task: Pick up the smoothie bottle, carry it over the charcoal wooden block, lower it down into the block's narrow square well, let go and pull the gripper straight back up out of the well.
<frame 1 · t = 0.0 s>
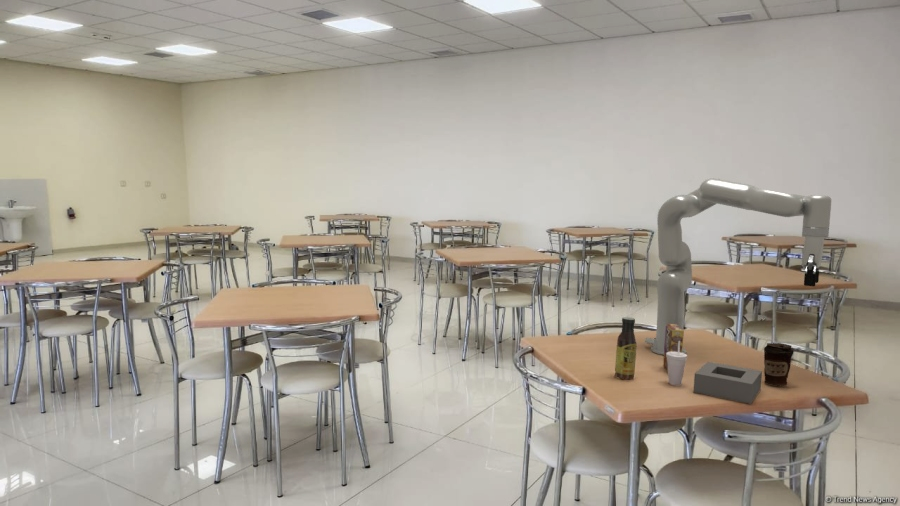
hand: (811, 284, 199), 31 cm above the table, fingers open, 9 cm apart
sauce bottle: (624, 377, 197), on the table
candy box: (671, 370, 205), on the table
smoothie: (674, 384, 191), on the table
coffee cup: (775, 384, 192), on the table
well block: (727, 390, 185), on the table
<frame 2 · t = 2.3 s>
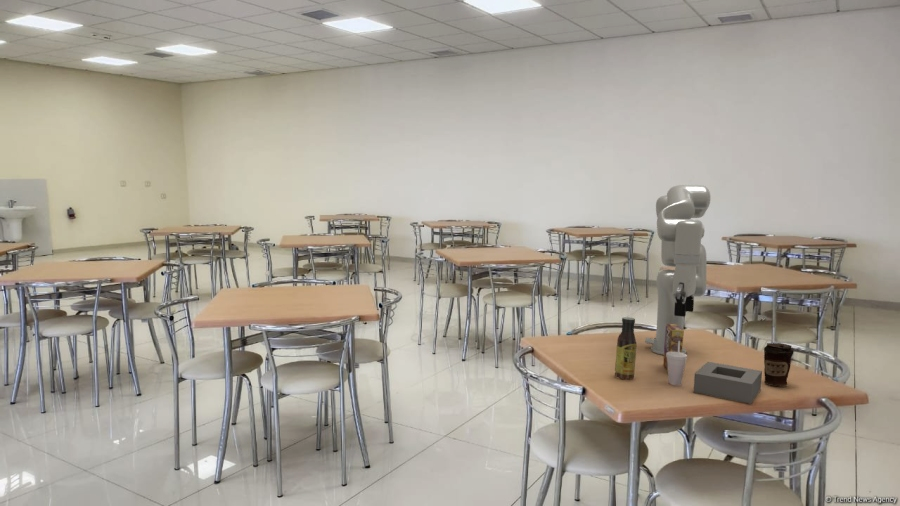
hand: (683, 313, 189), 23 cm above the table, fingers open, 9 cm apart
nothing on the table moved.
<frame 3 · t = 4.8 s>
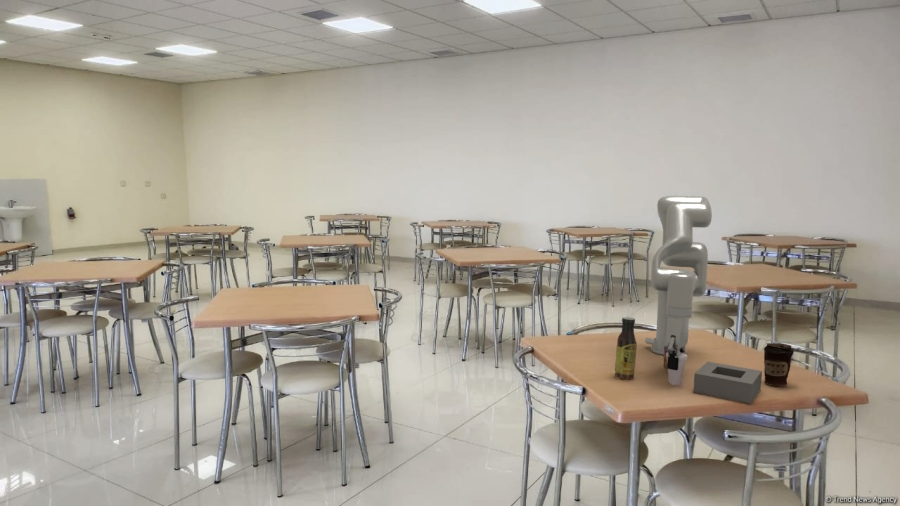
hand: (675, 366, 191), 6 cm above the table, fingers closed on smoothie, 6 cm apart
smoothie: (674, 384, 191), on the table, touching gripper
everything else where it was.
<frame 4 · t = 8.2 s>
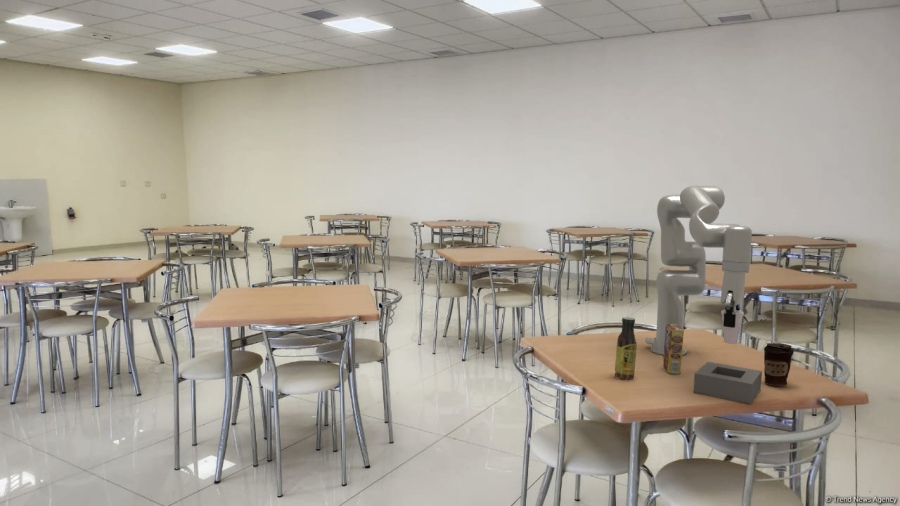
hand: (731, 324, 183), 21 cm above the table, fingers closed on smoothie, 6 cm apart
smoothie: (730, 342, 183), point 15 cm above the table, touching gripper
everything else where it was.
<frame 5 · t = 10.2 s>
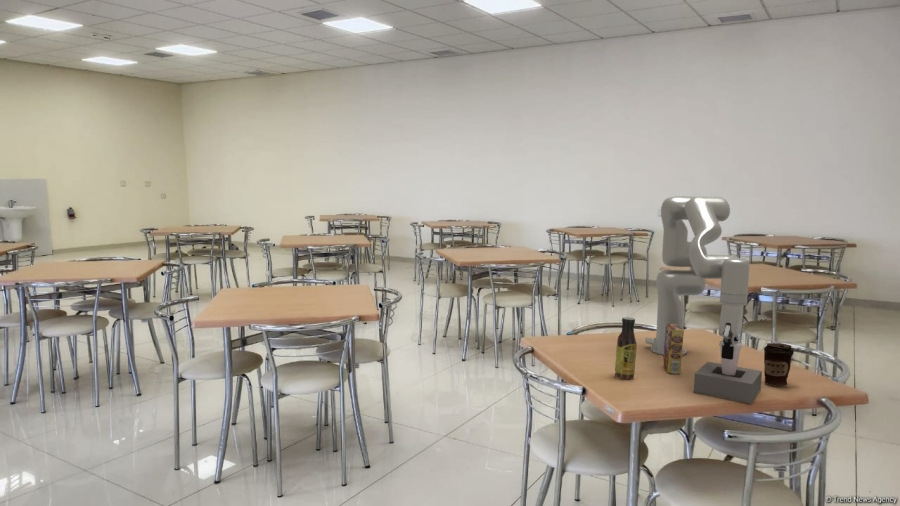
hand: (729, 355, 184), 11 cm above the table, fingers closed on smoothie, 6 cm apart
smoothie: (728, 374, 184), point 5 cm above the table, touching gripper
everything else where it was.
when the fingers open (7 cm above the table, at t = 11.7 s): smoothie drops 1 cm, resting on well block.
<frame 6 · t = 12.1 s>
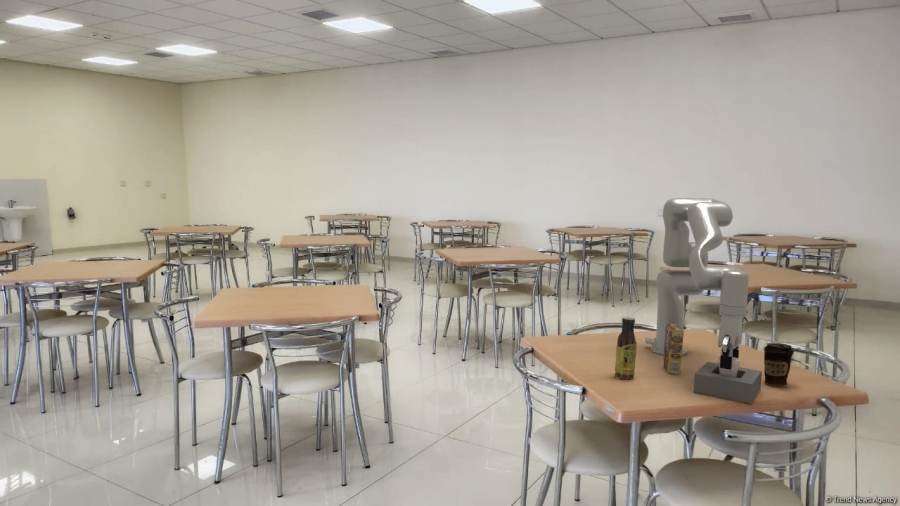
hand: (729, 364, 184), 8 cm above the table, fingers open, 9 cm apart
smoothie: (727, 389, 185), resting on well block
everything else where it was.
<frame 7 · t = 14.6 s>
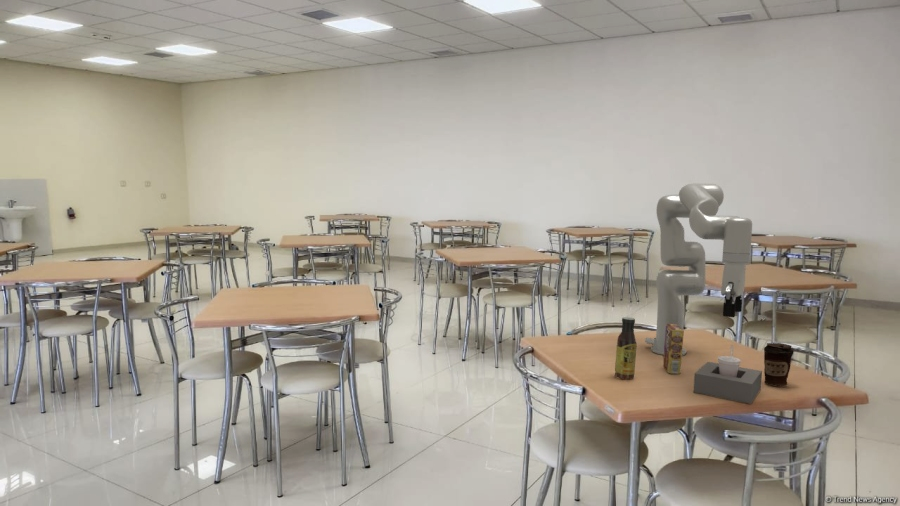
hand: (732, 313, 182), 24 cm above the table, fingers open, 9 cm apart
nothing on the table moved.
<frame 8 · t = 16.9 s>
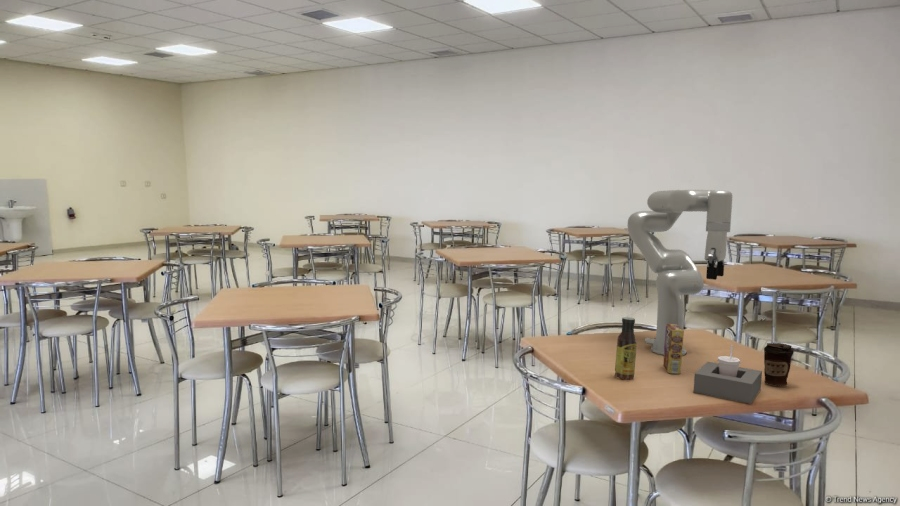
hand: (714, 277, 203), 32 cm above the table, fingers open, 9 cm apart
nothing on the table moved.
at the end: smoothie 0.1 cm off-centre on the well block, point 0.3 cm above the well block's base; smoothie tilted 0°; the gripper is holding nothing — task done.
